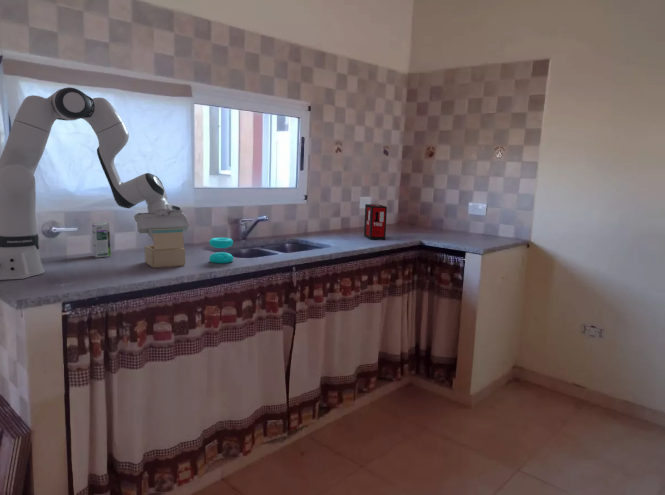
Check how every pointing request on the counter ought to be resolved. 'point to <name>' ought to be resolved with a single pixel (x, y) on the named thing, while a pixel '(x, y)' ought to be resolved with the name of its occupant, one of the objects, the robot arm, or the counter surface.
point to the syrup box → (101, 240)
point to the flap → (168, 238)
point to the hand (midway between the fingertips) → (167, 239)
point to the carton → (164, 257)
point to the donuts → (221, 256)
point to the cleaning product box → (375, 221)
